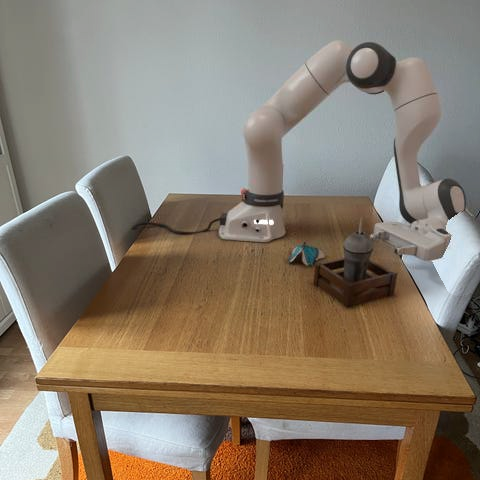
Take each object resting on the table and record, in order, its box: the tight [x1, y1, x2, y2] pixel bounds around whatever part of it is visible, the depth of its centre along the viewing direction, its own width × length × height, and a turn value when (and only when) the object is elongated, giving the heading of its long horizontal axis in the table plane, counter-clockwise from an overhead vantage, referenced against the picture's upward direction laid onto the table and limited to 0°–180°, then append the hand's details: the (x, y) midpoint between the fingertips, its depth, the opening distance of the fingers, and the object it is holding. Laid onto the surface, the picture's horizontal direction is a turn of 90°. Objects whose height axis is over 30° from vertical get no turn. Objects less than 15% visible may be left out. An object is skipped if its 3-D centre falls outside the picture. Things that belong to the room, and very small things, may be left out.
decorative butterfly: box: [288, 237, 326, 267], centre depth 140 cm, size 10×6×10 cm
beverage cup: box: [342, 215, 374, 295], centre depth 119 cm, size 7×7×20 cm
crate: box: [313, 257, 398, 309], centre depth 123 cm, size 15×15×6 cm
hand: (383, 244), depth 122 cm, fingers open, 8 cm apart
